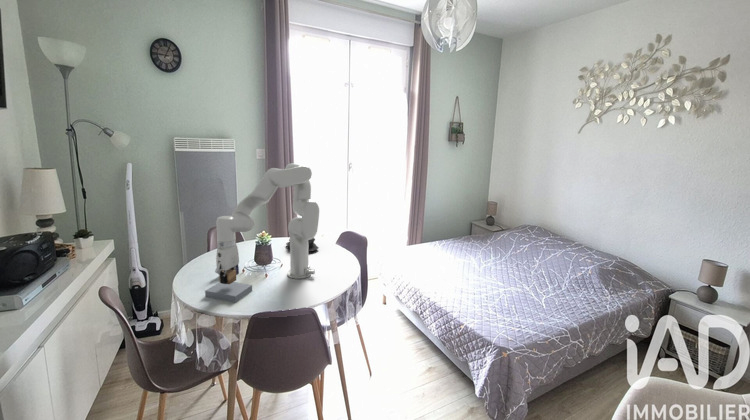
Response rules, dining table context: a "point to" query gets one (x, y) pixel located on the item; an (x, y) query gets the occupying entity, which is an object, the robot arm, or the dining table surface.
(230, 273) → the walnut cube
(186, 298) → the dining table surface
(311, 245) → the casserole
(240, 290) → the block
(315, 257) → the dining table surface
